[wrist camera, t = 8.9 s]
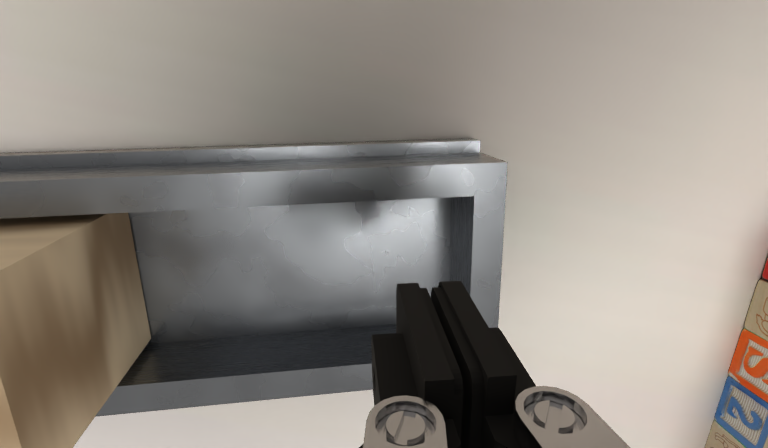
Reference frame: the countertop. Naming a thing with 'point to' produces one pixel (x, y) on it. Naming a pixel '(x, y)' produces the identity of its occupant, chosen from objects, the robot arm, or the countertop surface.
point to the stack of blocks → (746, 383)
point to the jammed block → (65, 323)
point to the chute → (276, 253)
